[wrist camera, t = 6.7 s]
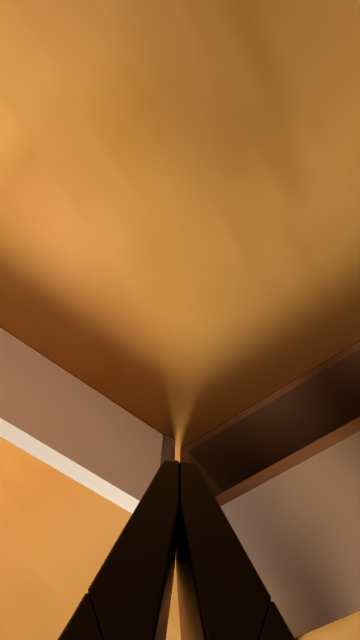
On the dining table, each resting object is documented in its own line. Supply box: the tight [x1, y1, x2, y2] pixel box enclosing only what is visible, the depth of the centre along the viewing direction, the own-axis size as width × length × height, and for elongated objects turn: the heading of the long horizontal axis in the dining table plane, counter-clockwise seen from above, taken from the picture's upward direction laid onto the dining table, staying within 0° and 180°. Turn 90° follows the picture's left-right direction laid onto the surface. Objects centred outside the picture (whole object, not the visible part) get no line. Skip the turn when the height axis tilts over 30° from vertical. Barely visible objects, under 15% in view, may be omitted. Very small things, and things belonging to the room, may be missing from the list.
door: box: [0, 327, 175, 514], centre depth 14 cm, size 17×2×5 cm, turn 52°
